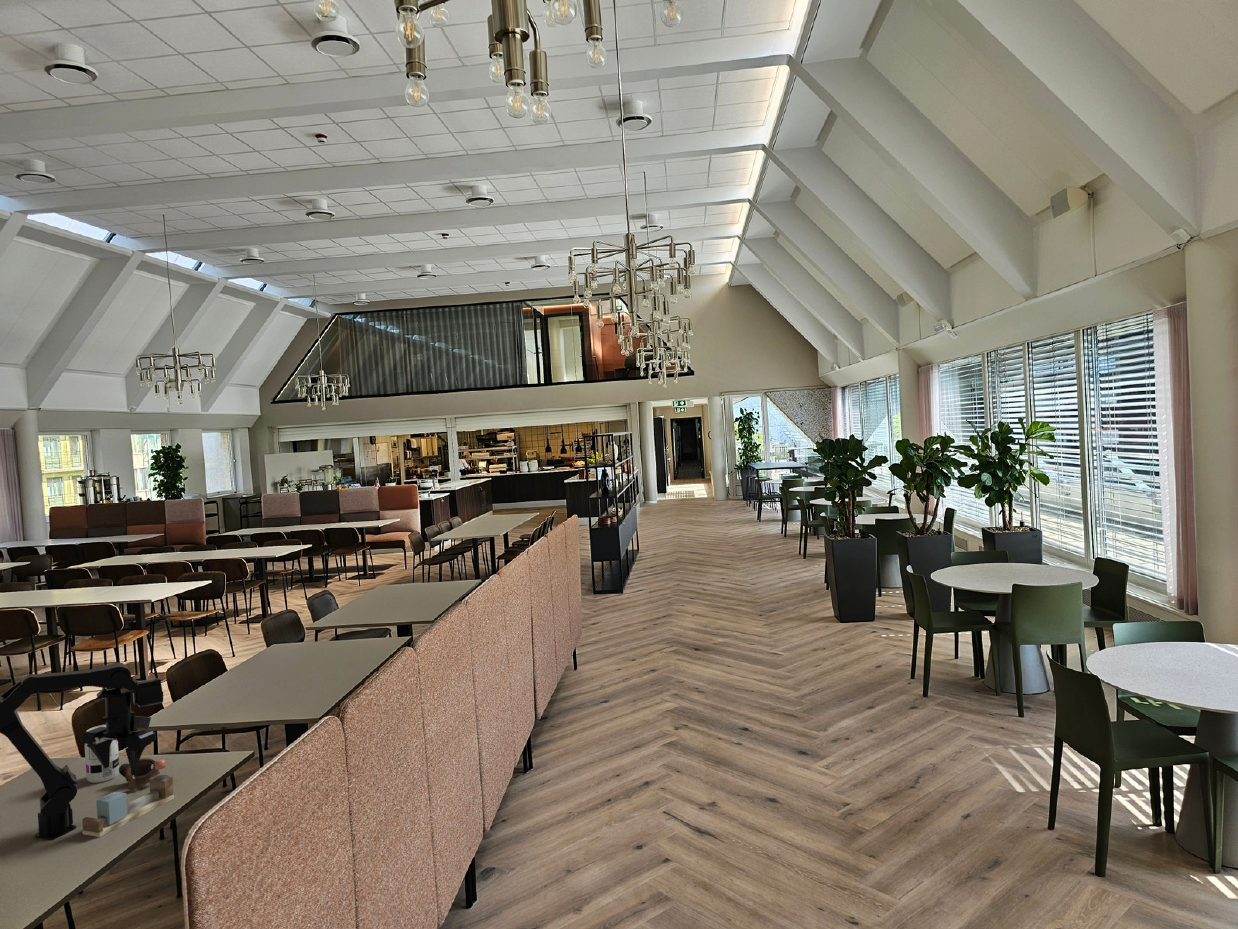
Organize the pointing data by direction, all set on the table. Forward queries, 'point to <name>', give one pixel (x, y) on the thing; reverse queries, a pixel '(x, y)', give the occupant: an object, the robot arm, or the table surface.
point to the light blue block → (112, 807)
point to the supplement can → (96, 769)
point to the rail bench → (131, 816)
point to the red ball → (160, 764)
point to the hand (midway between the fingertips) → (120, 769)
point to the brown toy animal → (139, 772)
